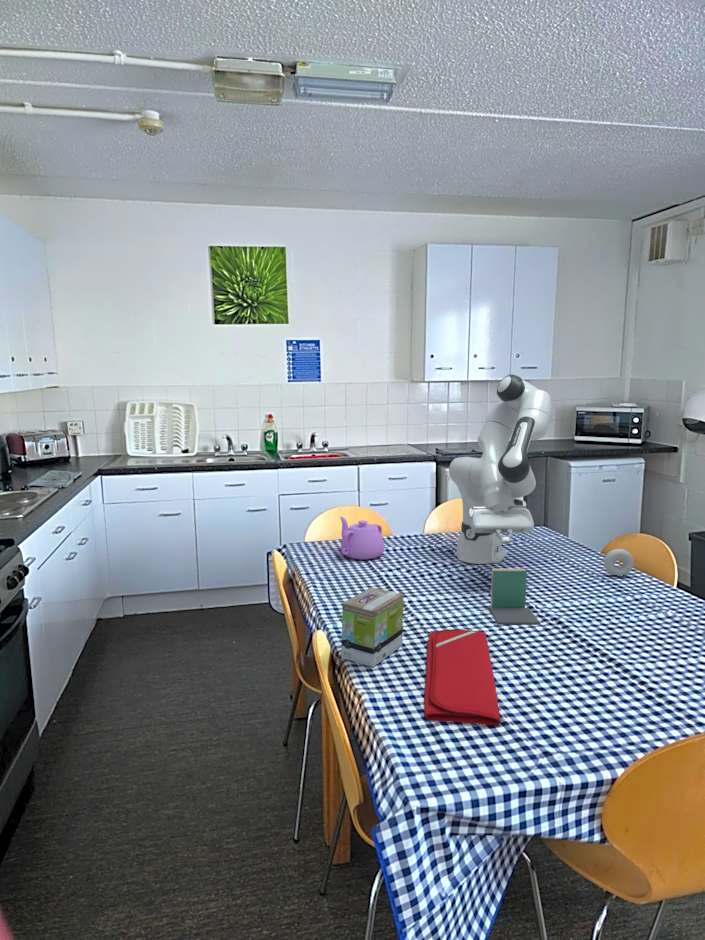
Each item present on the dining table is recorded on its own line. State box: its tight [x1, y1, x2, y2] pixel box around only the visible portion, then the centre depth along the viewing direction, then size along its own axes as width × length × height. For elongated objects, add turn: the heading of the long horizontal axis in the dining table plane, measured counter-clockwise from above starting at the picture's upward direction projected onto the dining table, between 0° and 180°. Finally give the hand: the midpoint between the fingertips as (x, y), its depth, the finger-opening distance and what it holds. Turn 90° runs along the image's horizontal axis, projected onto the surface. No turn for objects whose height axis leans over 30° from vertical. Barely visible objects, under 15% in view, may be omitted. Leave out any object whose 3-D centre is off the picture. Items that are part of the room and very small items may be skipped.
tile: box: [490, 568, 528, 608], centre depth 191 cm, size 2×10×12 cm, turn 90°
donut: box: [603, 548, 635, 577], centre depth 220 cm, size 10×4×10 cm, turn 84°
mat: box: [489, 607, 541, 625], centre depth 184 cm, size 11×12×1 cm
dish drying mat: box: [424, 628, 501, 726], centre depth 149 cm, size 16×41×4 cm, turn 172°
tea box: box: [340, 587, 404, 668], centre depth 160 cm, size 15×10×15 cm, turn 148°
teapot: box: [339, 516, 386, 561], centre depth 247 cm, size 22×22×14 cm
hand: (505, 543), depth 201 cm, fingers closed
